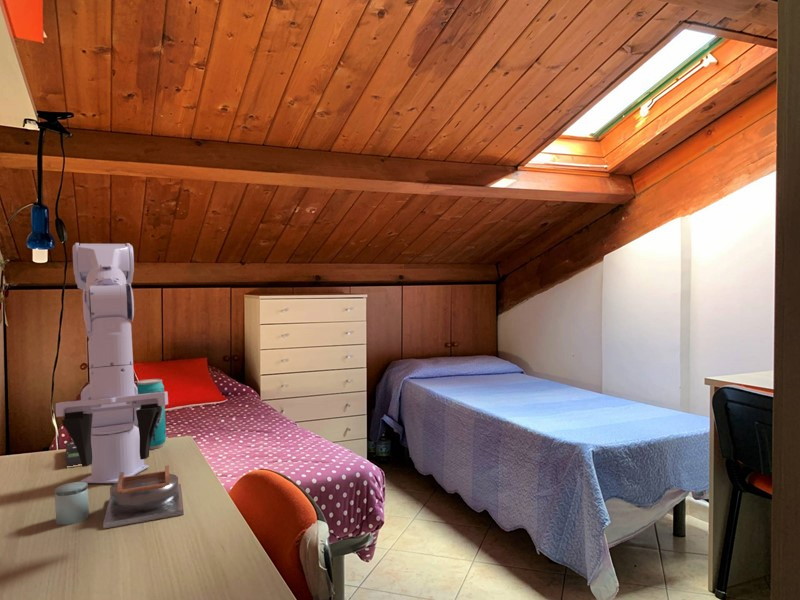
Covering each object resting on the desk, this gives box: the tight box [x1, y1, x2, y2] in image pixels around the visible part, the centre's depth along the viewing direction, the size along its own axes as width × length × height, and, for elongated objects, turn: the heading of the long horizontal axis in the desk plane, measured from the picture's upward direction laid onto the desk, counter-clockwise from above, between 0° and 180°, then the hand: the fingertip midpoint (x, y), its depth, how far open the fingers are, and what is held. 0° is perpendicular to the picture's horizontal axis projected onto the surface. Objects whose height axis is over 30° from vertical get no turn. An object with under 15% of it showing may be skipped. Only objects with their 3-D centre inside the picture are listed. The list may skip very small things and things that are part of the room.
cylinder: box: [54, 481, 90, 526], centre depth 87 cm, size 4×4×5 cm
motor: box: [102, 465, 185, 530], centre depth 90 cm, size 13×11×5 cm
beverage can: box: [136, 378, 167, 450], centre depth 126 cm, size 6×6×15 cm
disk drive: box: [65, 440, 81, 466], centre depth 122 cm, size 10×3×15 cm
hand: (116, 461), depth 80 cm, fingers open, 7 cm apart
